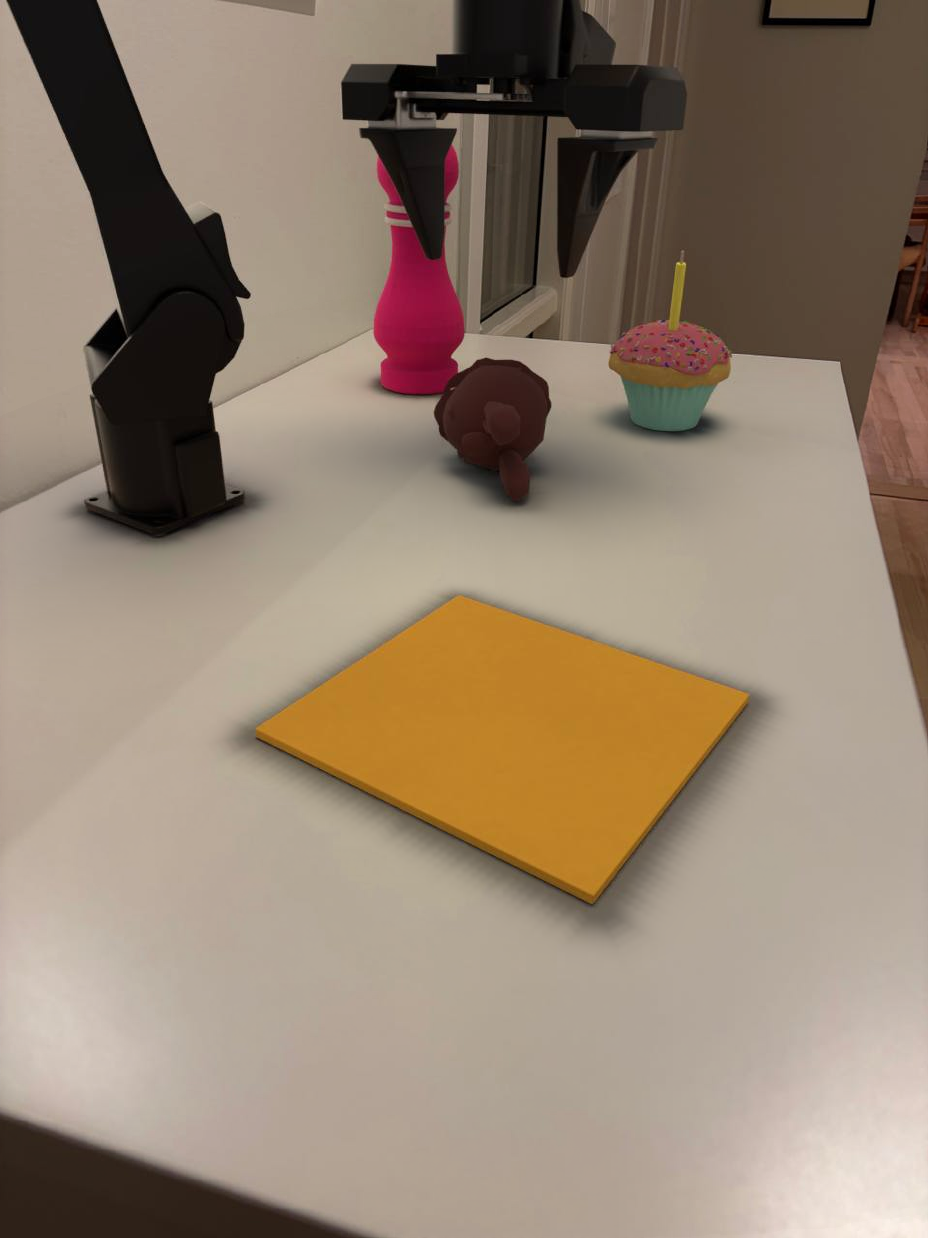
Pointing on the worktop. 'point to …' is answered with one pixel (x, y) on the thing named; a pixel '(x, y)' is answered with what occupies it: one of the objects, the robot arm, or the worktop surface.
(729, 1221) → the worktop surface
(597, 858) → the flat square board
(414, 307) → the pepper mill
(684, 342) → the cupcake
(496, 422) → the brown lumpy figure
